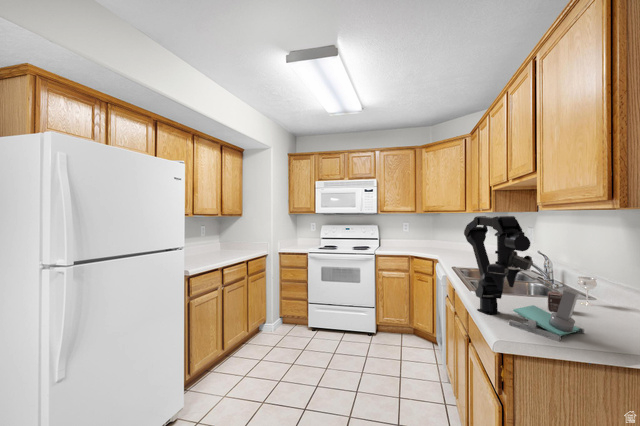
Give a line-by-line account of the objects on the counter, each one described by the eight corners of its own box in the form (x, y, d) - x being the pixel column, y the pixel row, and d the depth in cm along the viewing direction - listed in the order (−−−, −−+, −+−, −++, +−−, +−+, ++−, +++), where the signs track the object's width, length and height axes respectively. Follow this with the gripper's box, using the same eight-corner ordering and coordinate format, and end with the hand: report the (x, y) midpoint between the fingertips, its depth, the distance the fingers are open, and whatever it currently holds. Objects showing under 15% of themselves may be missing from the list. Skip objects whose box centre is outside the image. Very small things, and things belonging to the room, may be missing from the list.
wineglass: (583, 305, 141) (582, 279, 141) (574, 301, 148) (574, 276, 148) (600, 306, 140) (600, 279, 140) (591, 302, 146) (591, 277, 146)
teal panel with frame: (509, 324, 118) (509, 313, 118) (533, 319, 124) (533, 308, 124) (559, 341, 102) (558, 328, 102) (584, 333, 109) (584, 322, 109)
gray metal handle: (546, 324, 109) (556, 289, 106) (552, 319, 113) (563, 285, 110) (568, 334, 104) (580, 297, 101) (574, 328, 108) (586, 293, 105)
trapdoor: (512, 313, 118) (513, 309, 118) (532, 309, 123) (533, 305, 123) (557, 339, 104) (559, 334, 104) (578, 333, 109) (579, 328, 109)
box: (548, 311, 134) (548, 294, 134) (547, 307, 139) (547, 291, 139) (566, 313, 131) (566, 296, 131) (564, 309, 136) (564, 292, 136)
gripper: (519, 252, 109) (519, 297, 108) (539, 248, 120) (539, 289, 120) (486, 249, 117) (486, 291, 117) (507, 246, 129) (508, 284, 129)
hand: (506, 288), depth 120 cm, fingers open, 9 cm apart
